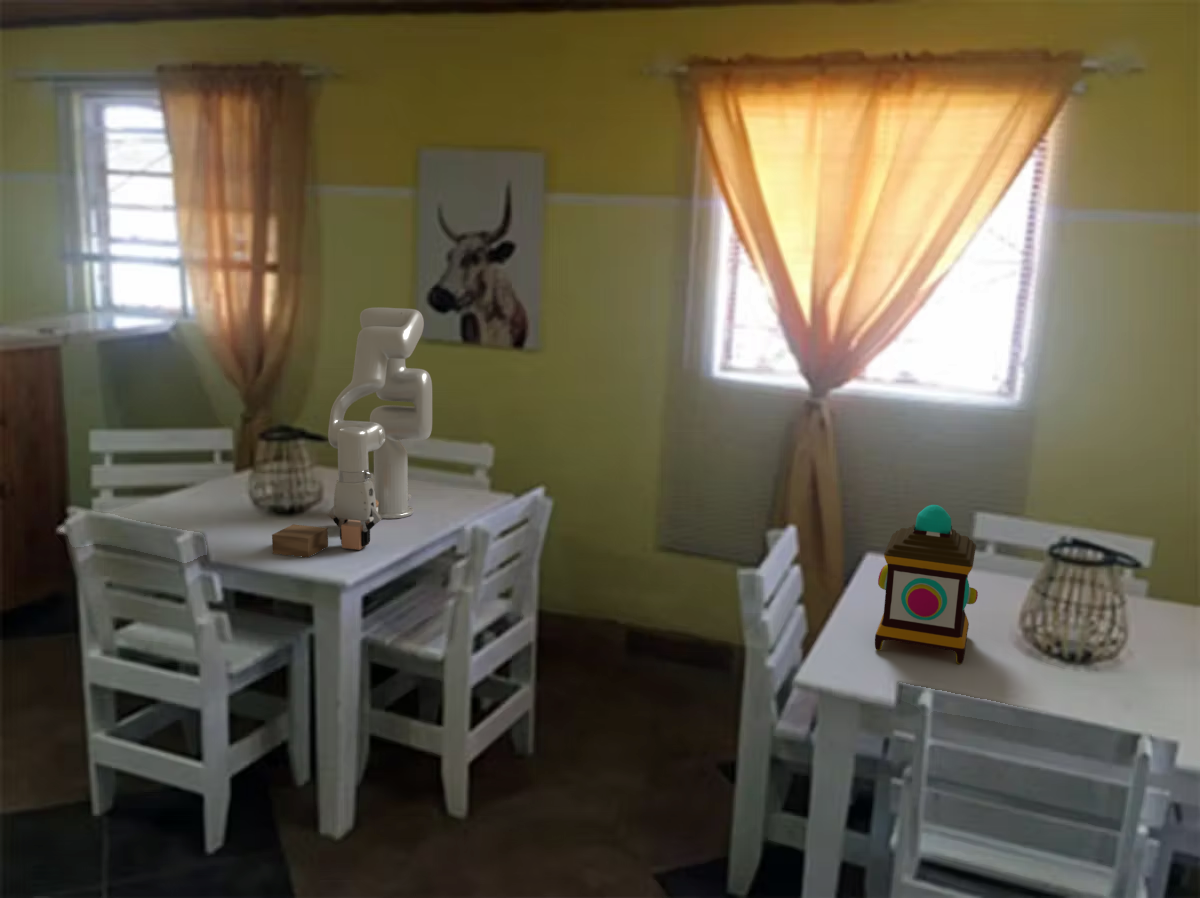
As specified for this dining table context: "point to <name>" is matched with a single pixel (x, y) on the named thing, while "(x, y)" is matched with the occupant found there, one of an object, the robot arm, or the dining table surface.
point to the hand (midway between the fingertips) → (355, 543)
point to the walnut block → (300, 540)
